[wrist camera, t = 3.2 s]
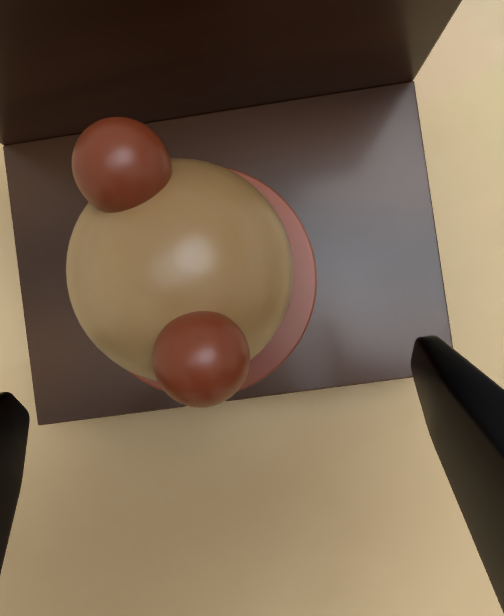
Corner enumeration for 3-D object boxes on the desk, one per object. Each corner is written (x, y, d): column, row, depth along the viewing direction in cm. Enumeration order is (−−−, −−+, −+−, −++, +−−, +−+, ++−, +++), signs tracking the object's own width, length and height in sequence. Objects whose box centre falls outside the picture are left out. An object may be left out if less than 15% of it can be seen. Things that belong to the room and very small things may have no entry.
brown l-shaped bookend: (422, 361, 19) (848, 491, 5) (78, 406, 20) (-395, 633, 6) (385, 101, 19) (690, -467, 5) (46, 154, 20) (-482, -224, 6)
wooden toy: (192, 384, 16) (41, 518, 5) (140, 258, 16) (-104, 154, 6) (319, 331, 16) (417, 364, 5) (265, 204, 16) (255, -10, 5)
